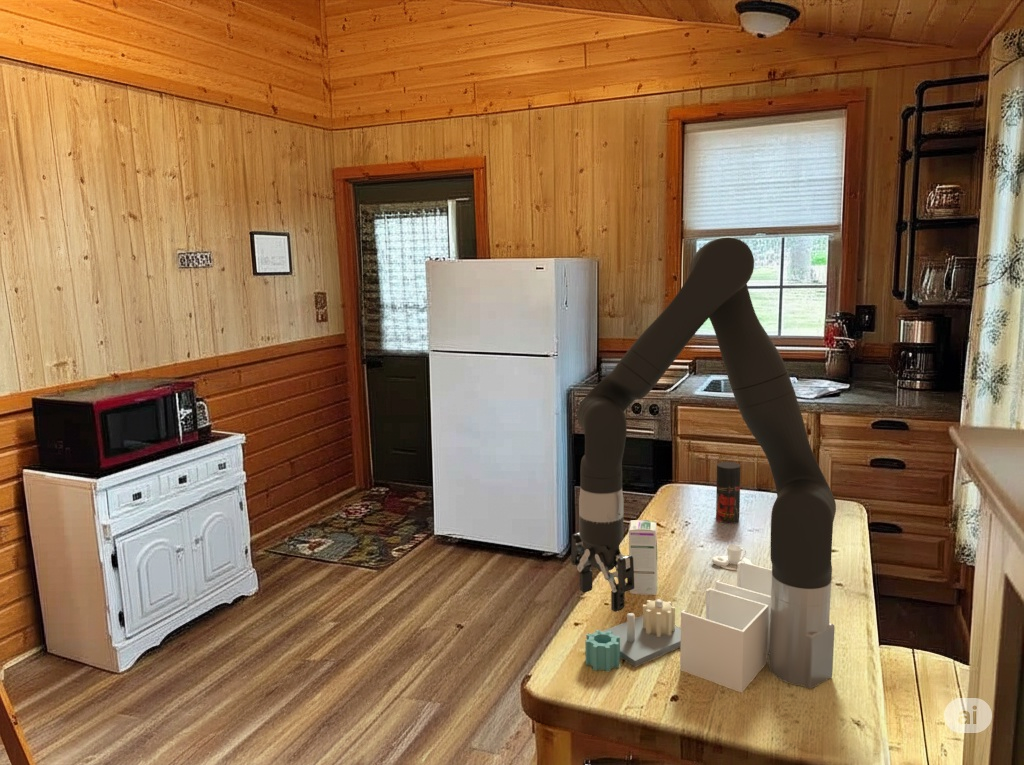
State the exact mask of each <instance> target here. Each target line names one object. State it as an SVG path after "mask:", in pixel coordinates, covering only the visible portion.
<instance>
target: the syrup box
mask: <svg viewBox="0 0 1024 765" xmlns="http://www.w3.org/2000/svg"><path fill="white" fill-rule="evenodd" d="M657 533H658V532H657V521H655V520H649V519H635V520H630V521H629V526H628V555H632V557H633V563H634V589H632V590H629V593H630V594H633V595H644V596H645V595H646V596H647V595H648V596H657V594H658V539H657V538H658V537H657V535H658V534H657Z"/></svg>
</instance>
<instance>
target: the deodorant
mask: <svg viewBox="0 0 1024 765" xmlns="http://www.w3.org/2000/svg"><path fill="white" fill-rule="evenodd" d="M741 469H742V468H741V464H740V463H738V462H733V461H721V462H718V463H717V464H716V496H715V497H716V498H715V499H716V500H715V501H716V502H715V507H716V508H715V520H716V521H717V522H719V523H722V524H729V525H732V524H738V523H739V522H740V510H741V509H740V508H741V506H740V504H741V499H740V498H741Z"/></svg>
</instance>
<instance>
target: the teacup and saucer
mask: <svg viewBox="0 0 1024 765" xmlns="http://www.w3.org/2000/svg"><path fill="white" fill-rule="evenodd" d="M726 551H727V552H726V554H727V555H721V556H713V557H712V558H711V562H712V563H713V564H714V565H715V566H718V567H721V568H723V569H727V570H729V571H730V570H731V571H737V568H735V567H729V564H730V565H733V566H735V565H737V564H738V562H742V561H744V563H748V564H752V565H753V563H752V561H751V560H750V559H748V558H746V555H747V550H746V549H745V548H742V547H741V546H739V545H736V544H731V545H728V546H727V547H726ZM742 551H744V553H743V556H742Z"/></svg>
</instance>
